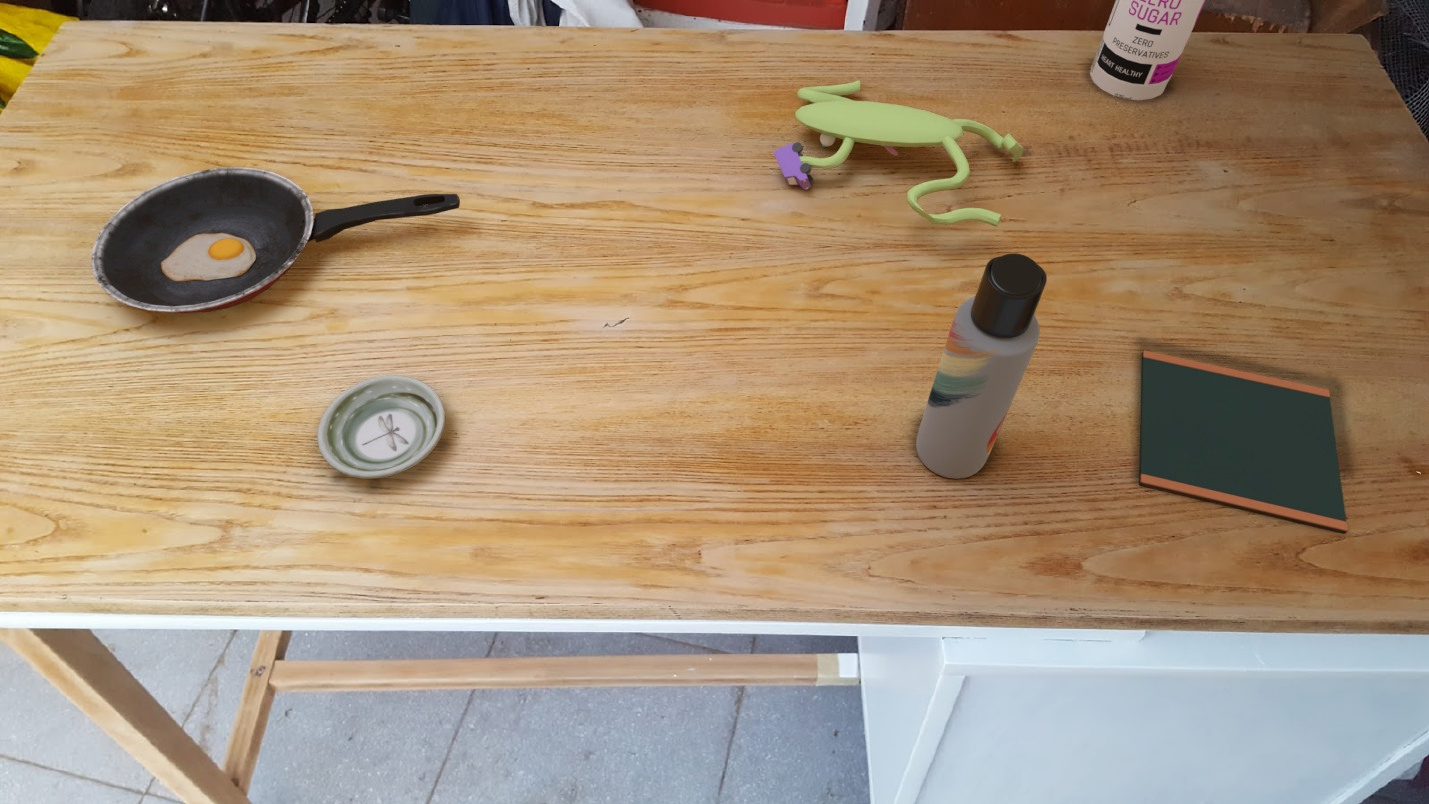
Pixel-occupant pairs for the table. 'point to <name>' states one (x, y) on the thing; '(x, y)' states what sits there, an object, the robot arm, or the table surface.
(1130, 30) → the supplement can
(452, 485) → the table surface
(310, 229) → the frying pan
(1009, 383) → the lotion bottle
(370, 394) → the saucer
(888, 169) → the table surface
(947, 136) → the figurine
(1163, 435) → the mat
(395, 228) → the table surface
